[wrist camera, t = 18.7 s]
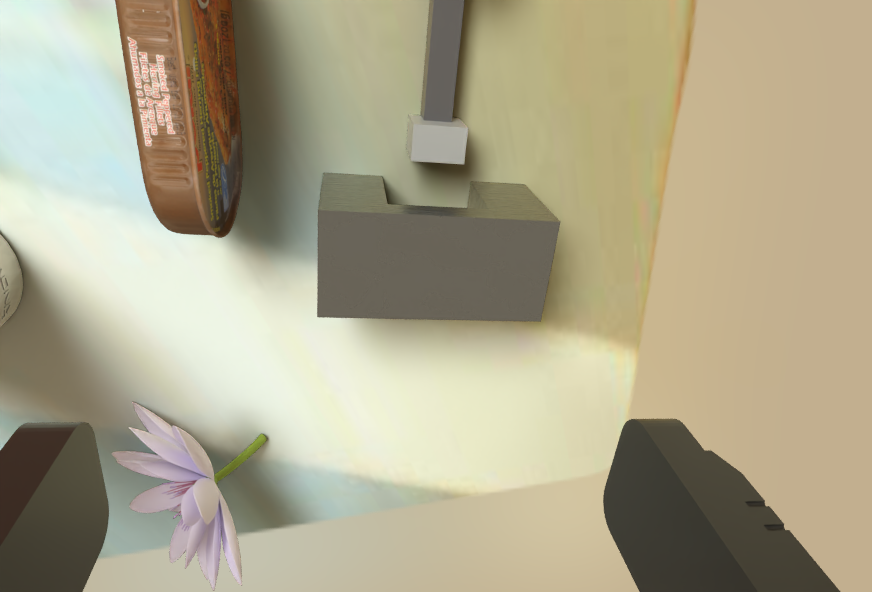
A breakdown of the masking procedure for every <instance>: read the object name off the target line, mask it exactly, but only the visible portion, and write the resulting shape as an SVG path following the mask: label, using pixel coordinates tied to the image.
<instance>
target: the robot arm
mask: <svg viewBox="0 0 872 592" xmlns="http://www.w3.org/2000/svg"><path fill="white" fill-rule="evenodd" d="M22 291H23V279H22V271H21V268H20V265H19V263H18V260H17V257H16V255H15V254H14V252H13V250H12V249H11V247H10V246H9V244H8V242H7V241H6V240H5V239H4V238H3V237H2V236H1V234H0V327H1V326H2V325H3V324H4V323H5V322H6V321H7V320H8V319H9V318H10V317H11V315H12V314H13V313H14V312H15V311H16V309H17V307H18V305H19V303H20V301H21V297H22ZM764 502H765V501H764V500H763V498H762V497H761V496H760V495H759V493H758V492H757V491H756V490H755V489H754V487H753V486H752V485H751V484H750V483H749V481H748V480H747V479H746V478H745V477H744V475H743V474H742V473H741V472H739V471H738V470H737V469H735V468H734V467H732V466H731V465H730V464H728V463H727V462H726V461H724V460H723V459H722V458H720V457H719V456H718V455H716V454H715V453H714V452H712V451H704V450H703V448H702V447H701V445H700V444H699V443H698V442H697V440H696V439H695V438H694V437H693V435H692V434H691V433H690V432H689V430H688V429H687V428H686V427H685V425H684V424H683V423H682V422H680V421H679V420H677V419H631V420H629V421H627V422H626V423H625V425H624V427H623V429H622V432H621V435H620V439H619V442H618V445H617V449H616V452H615V456H614V459H613V462H612V466H611V469H610V473H609V476H608V479H607V483H606V486H605V490H604V500H603V503H604V513H605V518H606V522H607V525H608V528H609V530H610V533H611V535H612V537H613V539H614V541H615V543H616V545H617V547H618V549H619V551H620V553H621V555H622V557H623V559H624V561H625V563H626V565H627V567H628V569H629V571H630V573H631V575H632V577H633V579H634V581H635V583H636V585H637V587H638V589H639V591H640V592H840V591H839V590H838V588H837V587H836V586H835V585H834V584H833V582H832V581H831V580H830V579H829V578H828V576H827V575H826V574H825V573H824V572H823V570H822V569H821V568H820V567H819V566H818V565H817V563H816V562H815V561H814V560H813V559H812V557H811V556H810V555H809V554H808V552H807V551H806V550H805V549H804V547H803V546H802V545H801V544H800V543H799V541H798V540H797V539H796V538H795V537H794V536H793V534H792V533H791V532H790V531H789V530H785V529H784V524H783V522H782V521H781V520H780V519H779V517H778V516H777V515H776V514H775V513H774V511H773V510H772V509H771V508H770V507H769V506H768V507H766V506H765V503H764ZM108 517H109V506H108V499H107V494H106V489H105V484H104V479H103V474H102V469H101V464H100V460H99V455H98V450H97V445H96V440H95V435H94V432H93V429H92V427H91V426H90V425H89V424H88V423H85V422H81V423H26V424H23V425H22V426H20V427H19V428H18V429H17V430H16V431H15V433H14V434H13V435H12V436H11V438H10V439H9V440H8V442H7V443H6V444H5V445H4V447H3V448H2V449H1V451H0V592H82V591H83V589H84V587H85V585H86V583H87V580H88V578H89V576H90V574H91V571H92V569H93V567H94V565H95V563H96V560H97V558H98V556H99V554H100V551H101V549H102V546H103V543H104V540H105V536H106V532H107V526H108Z"/></svg>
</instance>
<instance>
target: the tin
mask: <svg viewBox="0 0 872 592" xmlns="http://www.w3.org/2000/svg"><path fill="white" fill-rule="evenodd" d="M115 2H116V9H117V16H118V23H119V29H120V37H121V43H122V50H123V56H124V62H125V69H126V75H127V82H128V89H129V94H130V101H131V107H132V113H133V119H134V126H135V132H136V137H137V145H138V149H139V156H140V162H141V168H142V174H143V179H144V183H145V188H146V192H147V195H148V198H149V201H150V204H151V206H152V209H153V211H154V213H155V215H156V216H157V218H158V219H159V221H160V222H161V223H162V224H163V225H164V226H165V227H166V228H167V229H168V230H170V231H172V232H176V233H181V234H193V235H213V236H215V237H218V238H222V237H225V236H226V235H227V234H228V233H229V232H230V230H231V228H232V226H233V224H234V221H235V218H236V214H237V209H238V205H239V199H240V193H241V186H242V167H243V158H242V137H241V125H240V111H239V97H238V85H237V72H236V58H235V43H234V31H233V18H232V5H231V0H115Z"/></svg>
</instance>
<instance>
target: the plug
mask: <svg viewBox="0 0 872 592" xmlns="http://www.w3.org/2000/svg"><path fill="white" fill-rule="evenodd" d="M463 9H464V0H430V4H429V16H428V28H427V41H426V53H425V65H424V78H423V90H422V102H421V115H411V114H409V115H408V129H407V143H406V150H407V152H408V155H409V157H410V160H411V161H418V162H434V163H450V164H464V161H465V152H466V143H467V135H468V127H467V126H466V125H465V124H464V123H463V122H462V121H461V120H460V119H459V118H452V114H453V105H454V95H455V86H456V76H457V66H458V57H459V47H460V38H461V28H462V18H463Z"/></svg>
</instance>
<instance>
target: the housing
mask: <svg viewBox="0 0 872 592" xmlns="http://www.w3.org/2000/svg"><path fill="white" fill-rule="evenodd" d="M559 226H560V221H559V220H558V219H557V218H556V217H555V216H554V215H553V214H552V213H551V211H550V210H549V209H548V208H547V207H546V206H545V205H544V204H543V203H542V202H541V201H540V200H539V199H538V198H537V197H536V196H535V195H534V194H533V193H532V192H531V191H530V190H529V188H528V187H527V186H526V185H524V184H507V183H490V182H473V181H471V182H470V190H469V199H468V207H467V208H452V207H432V206H413V205H393V204H387V199H386V194H385V189H384V183H383V178H382V176H371V175H354V174H337V173H323V179H322V186H321V193H320V200H319V207H318V304H317V317H333V318H385V319H437V320H489V321H541V317H542V312H543V307H544V302H545V296H546V291H547V286H548V281H549V276H550V271H551V266H552V261H553V256H554V251H555V246H556V241H557V236H558V231H559Z"/></svg>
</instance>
